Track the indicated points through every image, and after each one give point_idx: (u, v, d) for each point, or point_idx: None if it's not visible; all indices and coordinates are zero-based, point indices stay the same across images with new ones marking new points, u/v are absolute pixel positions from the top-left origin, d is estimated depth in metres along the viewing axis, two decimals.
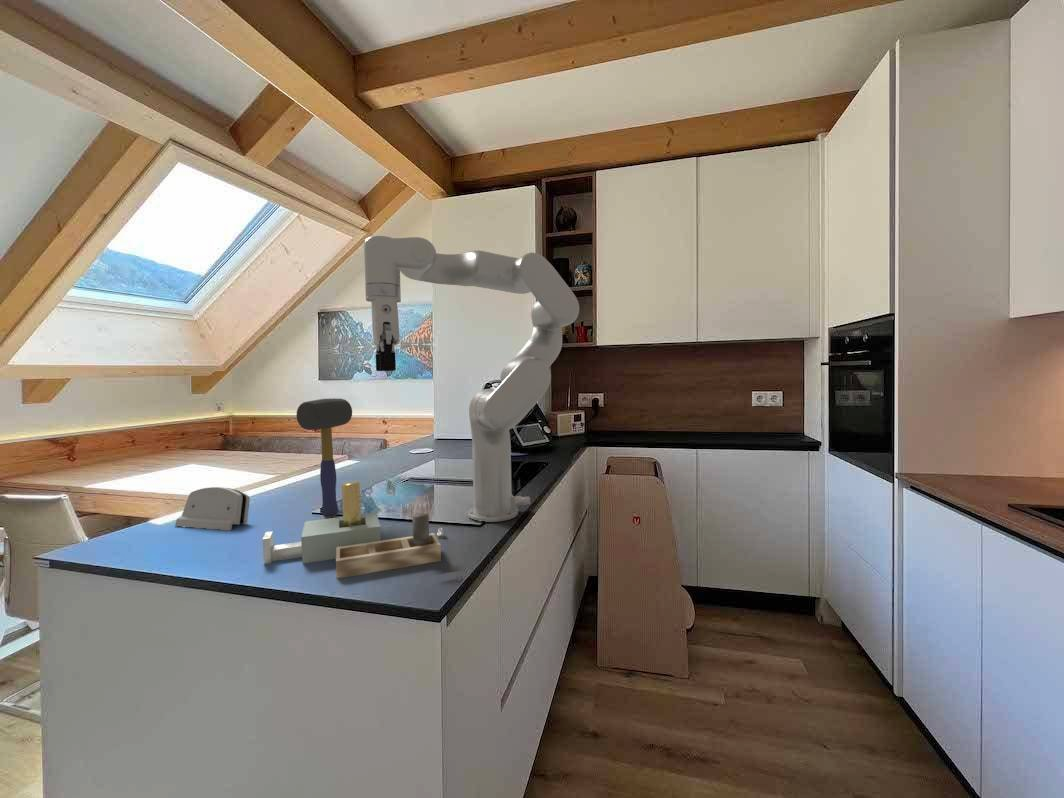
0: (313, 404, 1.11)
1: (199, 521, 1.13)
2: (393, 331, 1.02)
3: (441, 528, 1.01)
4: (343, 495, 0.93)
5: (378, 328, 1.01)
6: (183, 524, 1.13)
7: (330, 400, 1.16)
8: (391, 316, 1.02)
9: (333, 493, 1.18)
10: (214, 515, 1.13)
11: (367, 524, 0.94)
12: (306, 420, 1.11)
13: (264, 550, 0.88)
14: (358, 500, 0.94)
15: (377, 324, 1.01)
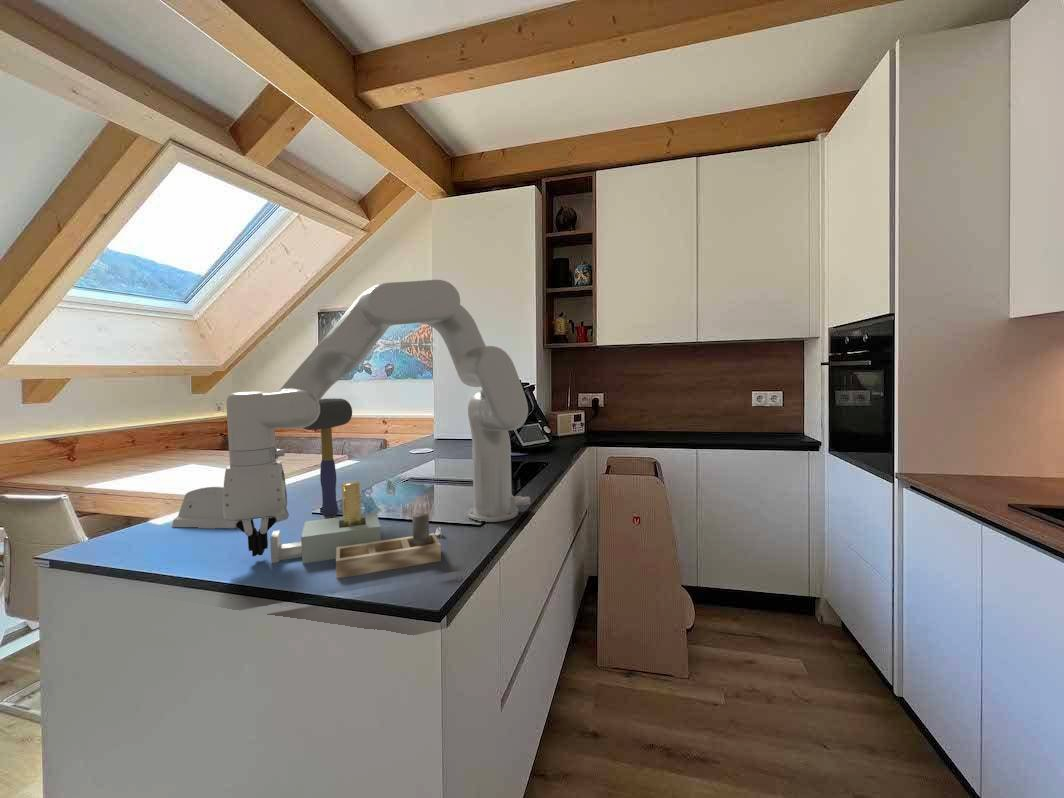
0: None
1: (199, 521, 1.13)
2: None
3: (439, 527, 1.01)
4: (343, 495, 0.94)
5: (283, 499, 0.89)
6: (181, 524, 1.13)
7: (330, 400, 1.16)
8: None
9: (333, 493, 1.18)
10: (214, 515, 1.14)
11: (367, 524, 0.94)
12: None
13: (272, 549, 0.88)
14: (358, 500, 0.94)
15: (282, 494, 0.89)
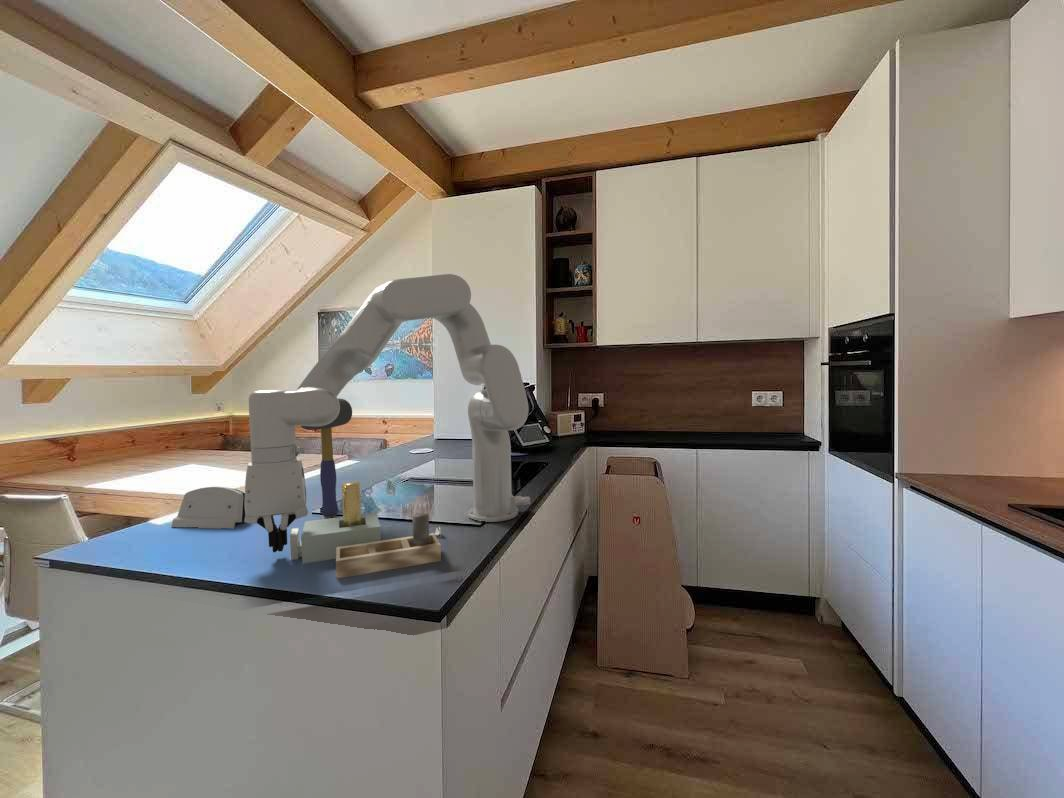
0: None
1: (198, 521, 1.13)
2: None
3: (439, 527, 1.01)
4: (343, 495, 0.94)
5: (303, 495, 0.90)
6: (180, 524, 1.13)
7: None
8: (304, 479, 0.92)
9: (333, 493, 1.18)
10: (214, 515, 1.14)
11: (367, 524, 0.94)
12: None
13: (291, 546, 0.89)
14: (358, 500, 0.94)
15: (302, 491, 0.90)
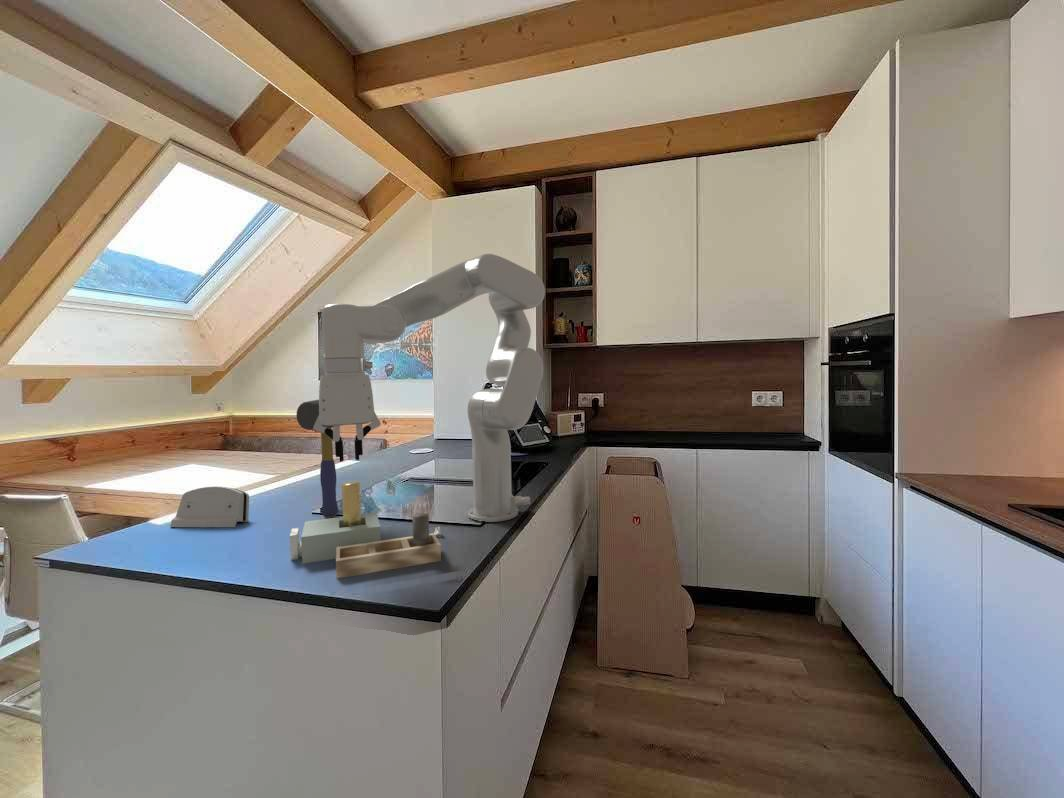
0: (313, 404, 1.11)
1: (198, 520, 1.13)
2: None
3: (438, 527, 1.01)
4: (343, 495, 0.93)
5: (373, 407, 0.94)
6: (180, 525, 1.13)
7: None
8: None
9: (333, 493, 1.18)
10: (214, 514, 1.14)
11: (367, 524, 0.94)
12: (306, 420, 1.11)
13: (291, 546, 0.89)
14: (358, 500, 0.94)
15: (372, 403, 0.94)
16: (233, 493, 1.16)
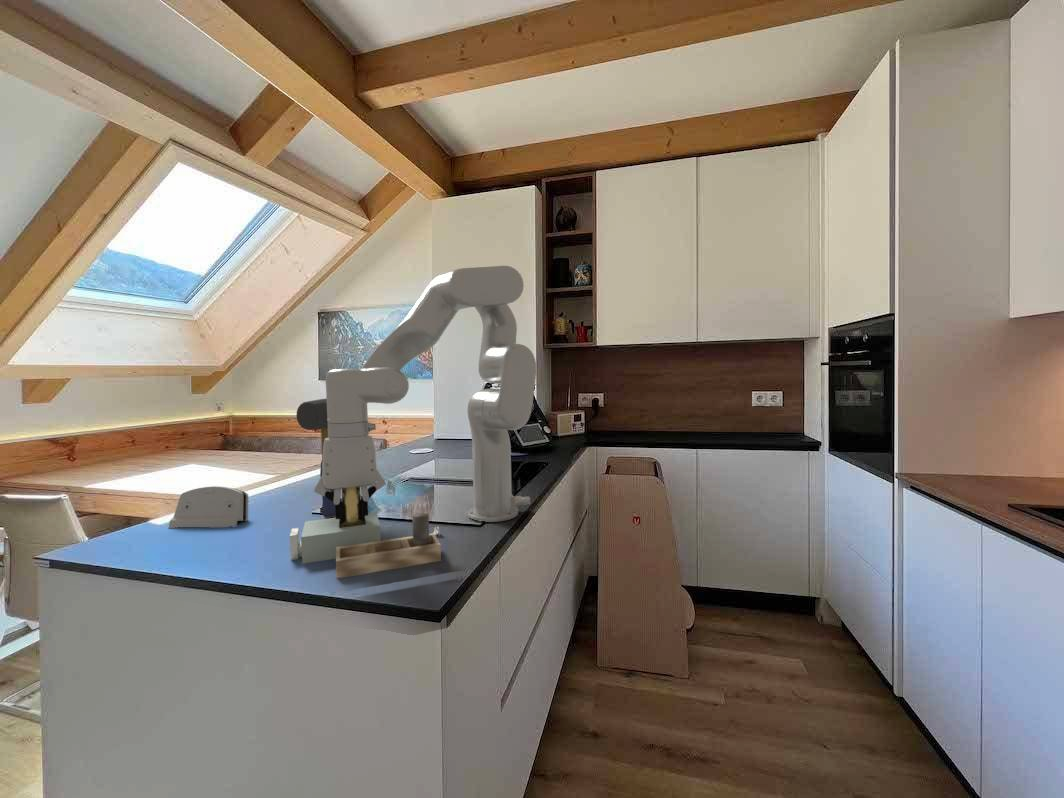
0: (313, 404, 1.11)
1: (198, 520, 1.13)
2: None
3: (438, 527, 1.01)
4: (343, 495, 0.93)
5: (376, 469, 0.95)
6: (178, 525, 1.13)
7: None
8: None
9: None
10: (214, 514, 1.14)
11: (367, 524, 0.94)
12: (306, 420, 1.11)
13: (291, 546, 0.89)
14: (358, 500, 0.94)
15: (375, 465, 0.95)
16: (233, 493, 1.16)
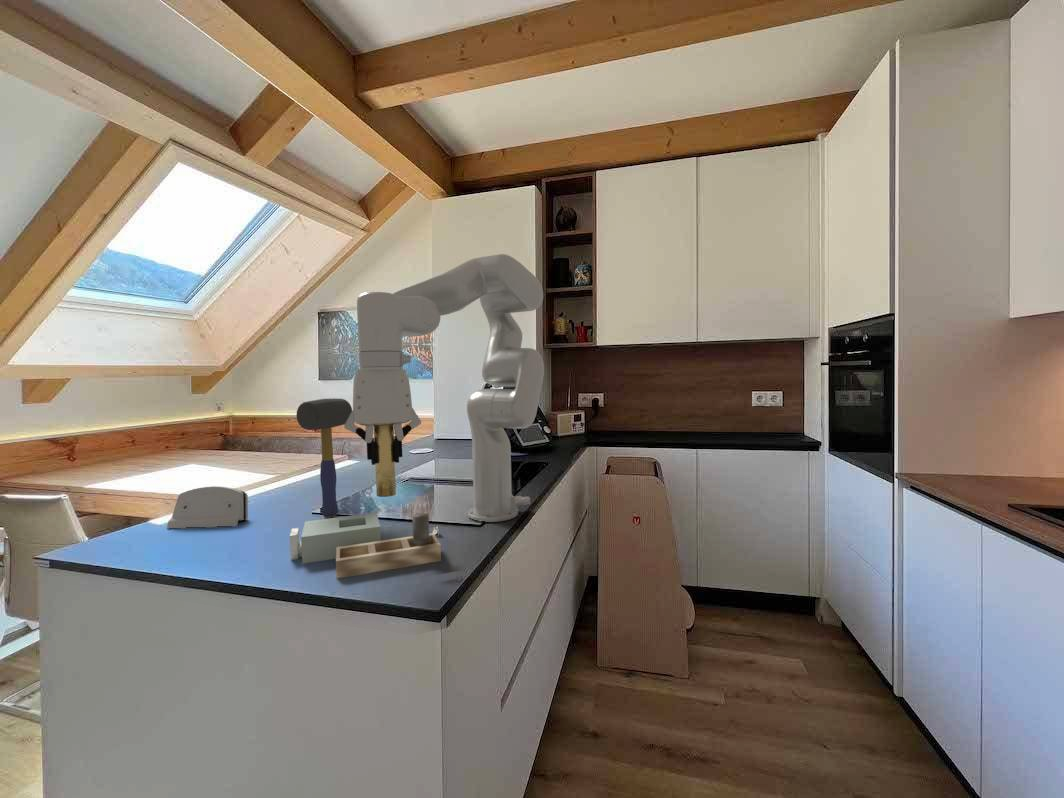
0: (313, 404, 1.11)
1: (197, 520, 1.13)
2: None
3: (437, 527, 1.02)
4: (376, 437, 0.85)
5: (411, 405, 0.86)
6: (177, 525, 1.12)
7: (330, 400, 1.16)
8: None
9: (333, 493, 1.18)
10: (214, 514, 1.15)
11: (367, 524, 0.94)
12: (306, 420, 1.11)
13: (291, 546, 0.89)
14: (392, 442, 0.86)
15: (410, 401, 0.86)
16: (233, 492, 1.16)
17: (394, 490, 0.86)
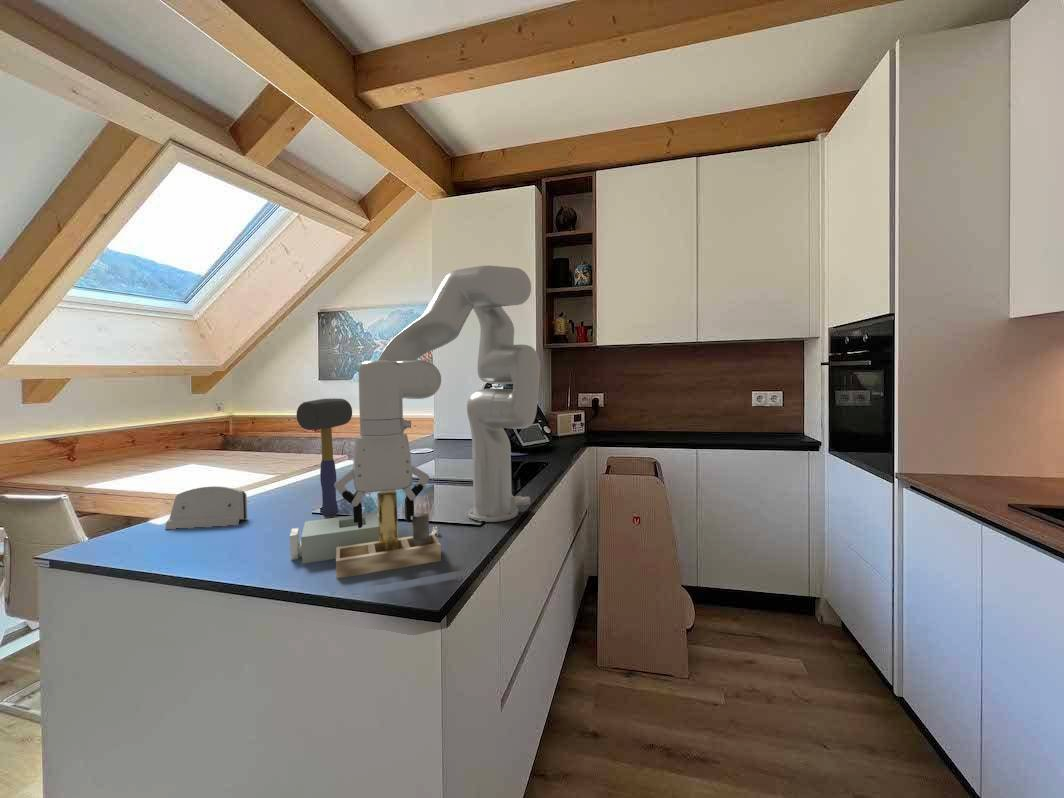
0: (313, 404, 1.11)
1: (197, 521, 1.13)
2: None
3: None
4: (379, 506, 0.86)
5: (411, 471, 0.86)
6: (176, 526, 1.12)
7: (330, 400, 1.16)
8: None
9: (333, 493, 1.18)
10: (213, 514, 1.15)
11: (367, 524, 0.94)
12: (306, 420, 1.11)
13: (291, 546, 0.89)
14: (395, 511, 0.87)
15: (410, 467, 0.86)
16: (232, 492, 1.17)
17: None
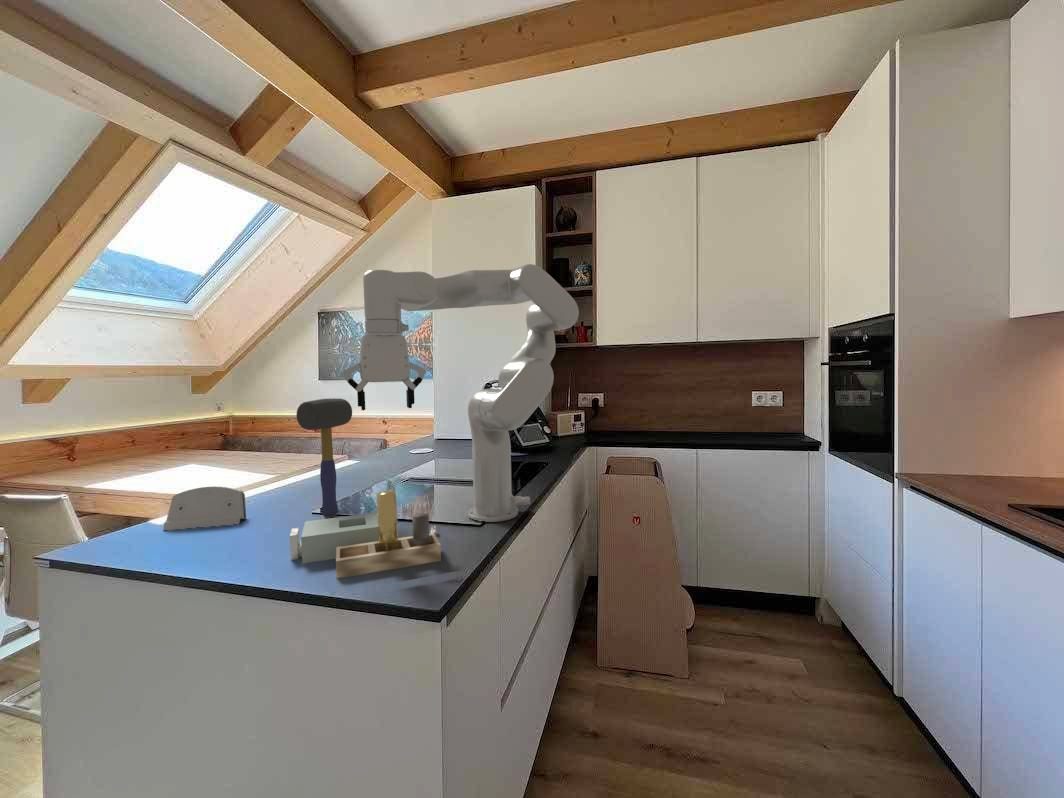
0: (313, 404, 1.11)
1: (197, 521, 1.13)
2: None
3: (434, 526, 1.02)
4: (379, 506, 0.86)
5: (409, 366, 1.02)
6: (175, 527, 1.11)
7: (330, 400, 1.16)
8: None
9: (333, 493, 1.18)
10: (213, 514, 1.15)
11: (367, 524, 0.94)
12: (306, 420, 1.11)
13: (291, 546, 0.89)
14: (395, 511, 0.86)
15: (408, 362, 1.02)
16: (231, 491, 1.17)
17: None
